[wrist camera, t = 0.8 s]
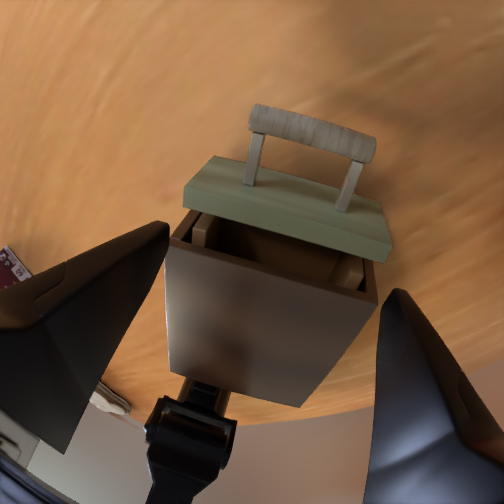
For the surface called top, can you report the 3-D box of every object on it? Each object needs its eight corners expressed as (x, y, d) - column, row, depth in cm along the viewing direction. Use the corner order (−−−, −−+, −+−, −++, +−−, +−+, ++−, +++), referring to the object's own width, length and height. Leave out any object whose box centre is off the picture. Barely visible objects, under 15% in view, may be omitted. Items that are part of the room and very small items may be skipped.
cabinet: (204, 191, 21) (164, 244, 16) (369, 238, 20) (378, 304, 15) (192, 319, 30) (169, 371, 25) (307, 351, 29) (299, 408, 24)
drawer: (224, 88, 15) (192, 101, 12) (405, 140, 15) (430, 170, 11) (197, 300, 26) (178, 341, 23) (314, 333, 26) (310, 378, 22)
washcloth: (109, 404, 60) (104, 415, 57) (51, 358, 52) (45, 368, 50) (137, 407, 54) (131, 419, 52) (71, 355, 46) (63, 368, 44)
